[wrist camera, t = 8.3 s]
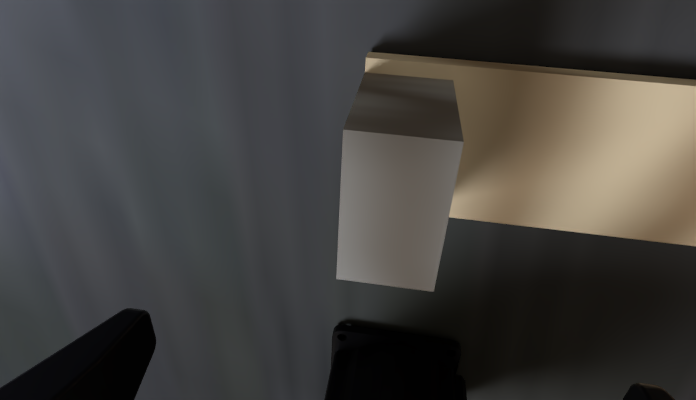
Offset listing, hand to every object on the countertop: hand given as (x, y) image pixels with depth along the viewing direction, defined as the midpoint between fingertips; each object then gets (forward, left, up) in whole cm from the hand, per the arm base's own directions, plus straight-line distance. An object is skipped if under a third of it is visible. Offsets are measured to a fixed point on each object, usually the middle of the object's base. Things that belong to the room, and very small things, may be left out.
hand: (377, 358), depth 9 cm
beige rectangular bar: (+10, 0, -11) cm, 15 cm away
